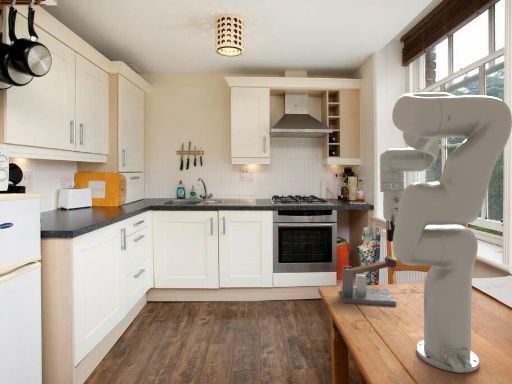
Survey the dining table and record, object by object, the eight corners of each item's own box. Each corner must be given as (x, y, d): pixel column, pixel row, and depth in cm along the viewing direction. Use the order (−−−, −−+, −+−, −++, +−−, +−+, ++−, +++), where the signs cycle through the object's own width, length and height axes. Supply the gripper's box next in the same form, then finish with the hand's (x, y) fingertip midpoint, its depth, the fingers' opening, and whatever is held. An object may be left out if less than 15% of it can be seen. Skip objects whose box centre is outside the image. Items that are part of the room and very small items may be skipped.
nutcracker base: (396, 305, 105) (396, 274, 104) (343, 303, 108) (343, 272, 107) (388, 293, 116) (388, 264, 116) (340, 290, 120) (340, 263, 119)
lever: (397, 267, 107) (395, 259, 107) (346, 278, 110) (344, 270, 110) (393, 262, 113) (391, 255, 113) (344, 273, 116) (342, 265, 116)
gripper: (410, 187, 100) (410, 245, 100) (398, 187, 115) (398, 238, 115) (385, 188, 101) (385, 244, 102) (376, 188, 116) (376, 237, 116)
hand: (392, 241), depth 108 cm, fingers closed
